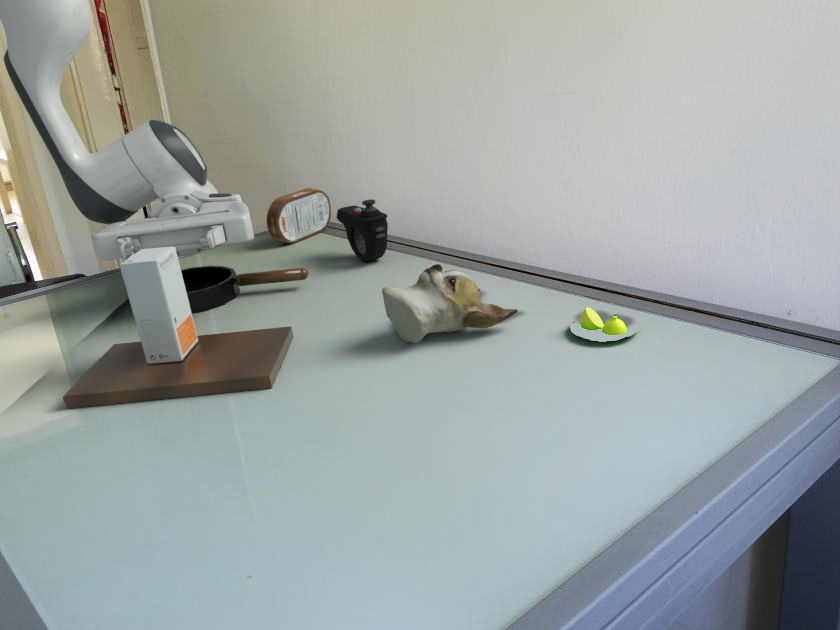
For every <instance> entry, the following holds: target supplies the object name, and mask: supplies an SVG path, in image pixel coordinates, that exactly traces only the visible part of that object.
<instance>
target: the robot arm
mask: <svg viewBox="0 0 840 630" xmlns="http://www.w3.org/2000/svg"><path fill="white" fill-rule="evenodd" d="M0 22H1V25H2V28H3V30H4V33H5V34H4V35H5V38H6V44H7V48H6V49H5V50H6V51H5V53H4V56H3V62H4V67H5V70H6V71H7V74H8V77H9V80H10V81H11V83H12V85H13V87H14V90H15V91H16V94H17V96H18V97H19V99H20V101H21V103H22V105H23V107H24V109H25V111H26V112H27V114H28V116H29V118H30V120H31V122H32V123H33V125H34V127H35V129H36V130H37V133H38V134H39V136H40V138H41V139H42V141H43V143H44V145H45V147H46V149H47V151H48V152H49V154H50V156H51V158H52V159H53V162H54V163H55V166H56V168H57V169H58V171H59V174H60V177H61V179H62V181H63V183H64V186H65V188H66V191H67V192H68V195H69V196H70V199H71V200H72V202H73V204H74V206H75V207H76V208H77V209H78V211H79V212H80V213H81V214H82V215H83V217H84V218H86V219H87V220H89V221H91V222H95V223H99V224H103V225H104V226H102V227H100V228H99V229H97V230H95V232H93V233H92V234H91V237H90V238H91V243H92V246H93V249H94V250H93V251H94V253H95V256H96V258H97V259H98V260H100V261H104V262H107V261H115V260H121V259H122V260H123V261H126V260H127V259H128V258H129V257H130V256H131V255H133V254H135V253H137V252H138V251H140V250H141V249H150V248H162V247H175V248H176V252H177V256H180V257H189V256H194V255H197V254H199V253H201V252H202V251H205V250H209V249H214V248H215V247H217V246H225V245H226V246H227V245H233V244H241V243H248V242H251V241H253V240H254V239H255V233H254V232H255V231H254V227H253V223H252V218H251V214H250V210H249V207H248V205H247V204H246V203H244V202H243V199H242V197H241V195H240V194H239V193H219V192H218V190H217V189H216V187H215V186H214V184H213V183H212V182H211V181H209V180H208V166H207V164H206V162H205V160H204V158H203V156H202V155H201V153H200V151H199V149H198V148H197V147H196V146H195V144H194V142H193V141H192V140H191V139H190V138H189V137H188V136H187V134H185V133H184V131H182V130H181V129H180V128H178V127H176V126H175V125H172V124H170V123H168V122H166V121H165V122H164V121H161V120H158V119H149V121H146V122H145V123H143V124H141V125H139V126H137V127H135V128H134V129H132V130H131V131H129V132H128V133H125V134H124V135H123V136H121V137H120V138H118V139H116V140H115V141H113V142H111V143H109V144H108V145H107V146H105V147H103V148H101V149H99V150H98V151H96V152H93V153H90V152H89V151H88V150H87V148H86V146H85V144H84V142H83V140H82V139H81V137H80V136H81V135H80V134H79V133H78V131H77V129H76V127H75V125H74V123H73V121H72V119H71V117H70V115H69V114H68V112H67V110H66V108H65V106H64V104H63V102H62V98H61V84H62V80H63V78H64V75H65V73H66V71H67V69H68V68H69V66H70V65H71V63H72V62H73V60H74V59H75V58H76V56H77V55H78V53H79V52H80V50H81V49H82V47H83V46H84V44H85V42H86V40H87V37H88V35H89V32H90V28H91V23H92V13H91V4H90V2H89V0H0ZM156 200H157V201H156ZM153 202H155V203H154V204H153V205H152V207H151V208H150V211H149V213H148V217H144V218H138V219H130V218H131V217H133V216H134V215H135V214H136V213H138V212H139V211H140V210H141V209H142V208H144V207H147V206H148V205H149V204H152V203H153Z"/></svg>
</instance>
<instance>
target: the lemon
mask: <svg viewBox="0 0 840 630" xmlns="http://www.w3.org/2000/svg"><path fill="white" fill-rule="evenodd" d="M598 314H599V313H598V312H596V311H595V310H594V309H593V308H591V307H586V308H585V309H584V310H583V311H582V313H581V314H580V317H579V318H580V324H581V327H582V328H584V329H587V330H597V329H601V328H602V332H603V333H605V334H608V335H620V334H624V333H626V332H627V327H626V325H625V323H624V322H623V321H622V320H620V319H618V318H617V316H612V318H611V319H609V320H608V321H606V322H605V324H603V321H602V320H601V318H600V316H599V315H598Z"/></svg>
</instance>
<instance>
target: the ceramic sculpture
mask: <svg viewBox="0 0 840 630" xmlns="http://www.w3.org/2000/svg"><path fill="white" fill-rule="evenodd" d="M481 291H482V290H481V288H479V287H478V285H477V283H476V282H475V280H474V279H473V278H472V277H470V276H469V275H468V274H466V273H464V272H462V271H459V270H456V269H449V270H444V268H443V267H442V265H441V264H439V263H438V264H437V263H436V264H433V265H431V266H430V267H427V268H425V269H424V270H423V271H422V272H421V273H420V274H419V275H418V279H417V281H416V283H415V284H412V285H410V286H407V287H397V286H390V287H389V286H383V287H382V288H381V294H382V297H383V304H384V308H385V314H386V317H387V318H388V319H389V321H390V322H391V324H392V325H393V327H394V329H395V331H396V333H397V335H398V336H399V338H400V339H401V340H402V341H404V342H406V343H411V342H412V344H418V343H420V342H421V341H422V340H423V339H424V337H425V336H426V335H427V334H434V333H443V332H446V333H453V332H458V330H459V331H462V330H465V329H467V328H471V329H488V328H491V327H494V326H496V325H499V324H500V323H502V322H504V321H506V320H508V319H509V318H511V317H513V316H515V315H516V314H517V313H518V311H519V310H518V309H517V308H503V307H502V306H499V305H497V304H493V303H483V302H482V301H481V298H480V297H481V296H480V293H481ZM452 331H453V332H452Z"/></svg>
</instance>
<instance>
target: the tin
mask: <svg viewBox="0 0 840 630" xmlns="http://www.w3.org/2000/svg"><path fill="white" fill-rule="evenodd" d="M331 217H332V207H331V199H330V198H329V195H327V193H326V192H325V191H323V190H321V189H316V188H312V187H307V188H303V189H300V190H296V191H293V192H290V193H287V194H284V195H280V196H278V197H276V198H275V199H274V200H273V201H272V202H271V204H270V205H269V207H268V209H267V213H266V227H267V228H266V229H267V232H268V233H269V235H270V237H271V238H272V239H273V240H274V241H275V242H278V243H284V244H295V243H297V242H300V241H302V240H305V239H307V238H310V237H312V236H315V235H318V234H320V233H322V232H324V231H325V230H326V229H327V228H328V226H329V224H330V222H331Z"/></svg>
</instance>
